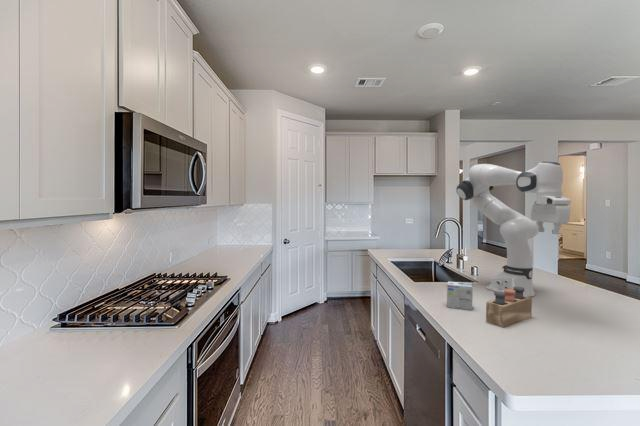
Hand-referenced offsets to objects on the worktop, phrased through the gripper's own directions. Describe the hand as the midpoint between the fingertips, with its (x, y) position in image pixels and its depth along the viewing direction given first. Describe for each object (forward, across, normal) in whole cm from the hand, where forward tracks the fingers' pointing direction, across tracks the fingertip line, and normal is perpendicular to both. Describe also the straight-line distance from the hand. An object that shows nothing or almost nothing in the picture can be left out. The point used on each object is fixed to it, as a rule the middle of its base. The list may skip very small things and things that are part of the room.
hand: (548, 233), depth 135 cm
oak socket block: (+35, +6, -18) cm, 40 cm away
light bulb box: (+36, -9, -32) cm, 49 cm away
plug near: (+31, +10, -23) cm, 40 cm away
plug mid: (+31, +6, -18) cm, 36 cm away
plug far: (+31, +2, -12) cm, 33 cm away
